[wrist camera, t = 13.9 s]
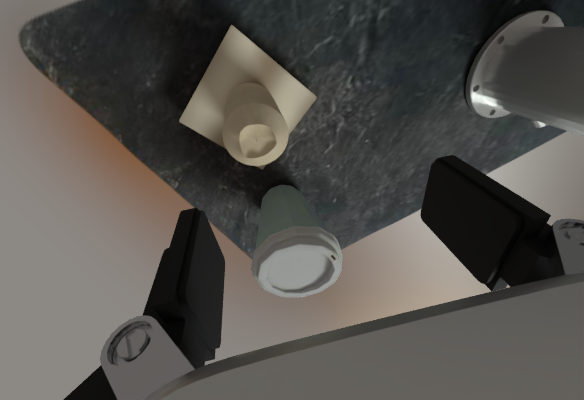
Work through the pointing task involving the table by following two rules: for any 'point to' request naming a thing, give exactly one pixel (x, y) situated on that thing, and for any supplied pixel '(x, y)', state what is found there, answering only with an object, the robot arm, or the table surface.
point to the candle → (253, 125)
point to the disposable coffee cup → (293, 246)
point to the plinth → (237, 70)
